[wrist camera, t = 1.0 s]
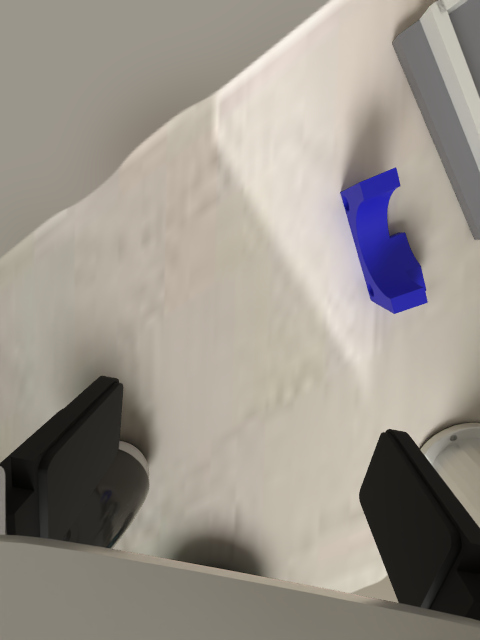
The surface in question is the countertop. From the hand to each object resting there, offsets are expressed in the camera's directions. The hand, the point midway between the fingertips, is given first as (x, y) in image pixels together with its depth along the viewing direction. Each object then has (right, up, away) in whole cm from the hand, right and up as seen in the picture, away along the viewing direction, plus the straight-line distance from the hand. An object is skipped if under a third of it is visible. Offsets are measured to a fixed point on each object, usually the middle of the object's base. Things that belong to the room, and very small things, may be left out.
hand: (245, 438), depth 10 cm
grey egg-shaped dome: (-16, -15, +30) cm, 38 cm away
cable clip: (+14, +13, +21) cm, 28 cm away
